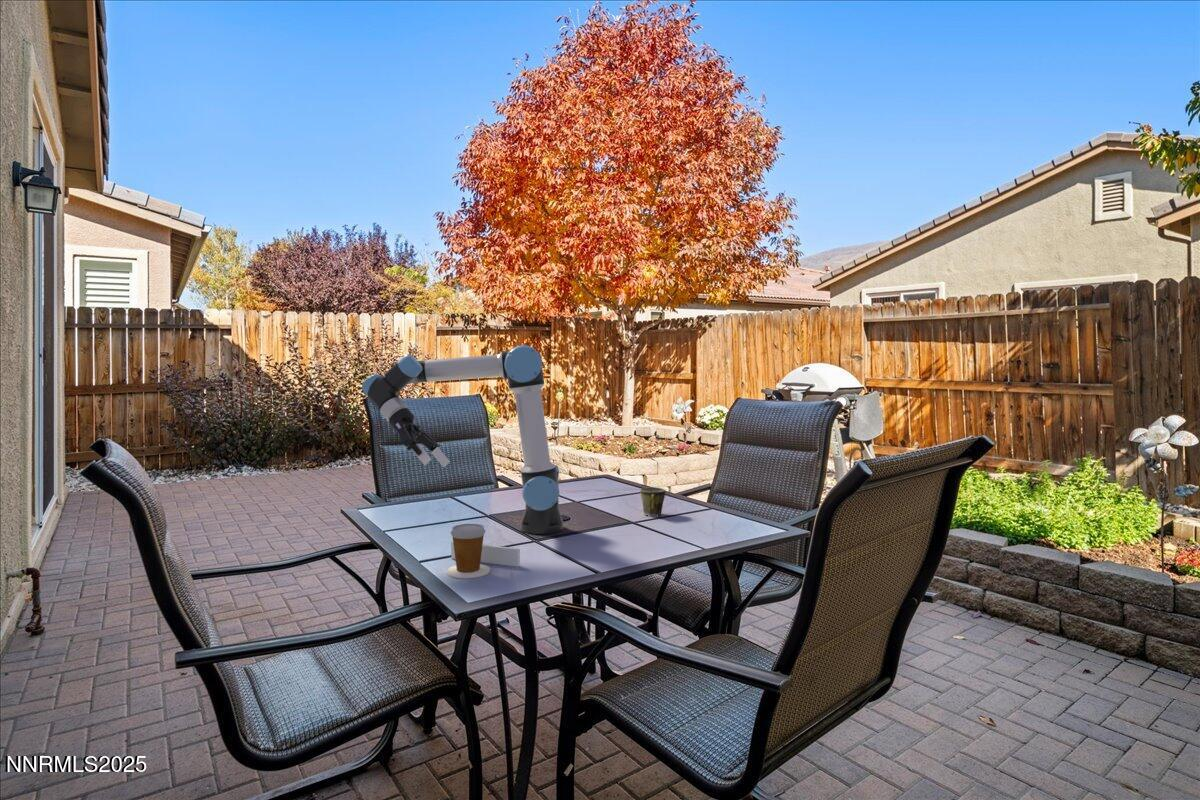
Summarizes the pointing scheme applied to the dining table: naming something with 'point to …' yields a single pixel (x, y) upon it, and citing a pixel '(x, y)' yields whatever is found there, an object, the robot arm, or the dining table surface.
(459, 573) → the mat
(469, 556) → the disposable coffee cup
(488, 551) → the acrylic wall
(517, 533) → the dining table surface
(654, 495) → the ceramic cup
